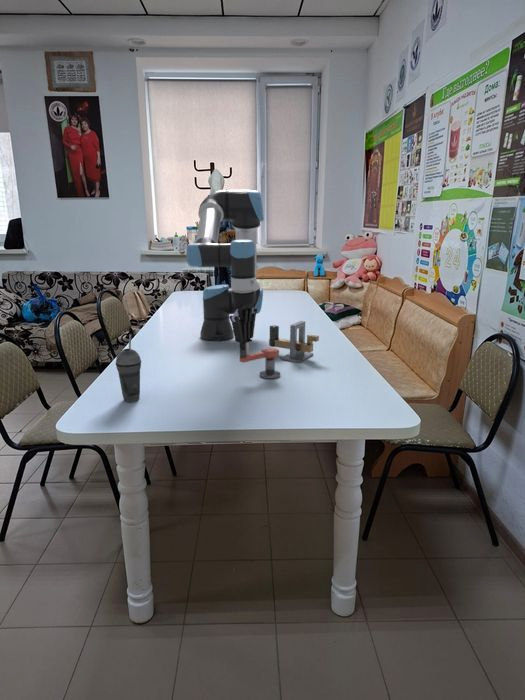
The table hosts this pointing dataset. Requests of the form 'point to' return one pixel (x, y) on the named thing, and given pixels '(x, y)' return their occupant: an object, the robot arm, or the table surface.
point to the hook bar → (284, 343)
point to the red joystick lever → (259, 354)
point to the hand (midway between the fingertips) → (244, 360)
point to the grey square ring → (294, 354)
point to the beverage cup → (129, 373)
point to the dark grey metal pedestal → (269, 369)
